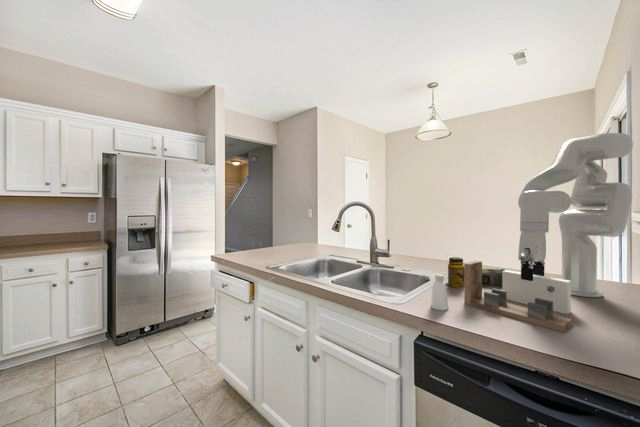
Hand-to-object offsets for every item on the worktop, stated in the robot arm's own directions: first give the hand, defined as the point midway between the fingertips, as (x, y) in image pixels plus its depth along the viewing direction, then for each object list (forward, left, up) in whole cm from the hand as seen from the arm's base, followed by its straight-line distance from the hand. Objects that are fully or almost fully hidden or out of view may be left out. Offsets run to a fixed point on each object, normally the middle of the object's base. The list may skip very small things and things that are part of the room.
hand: (532, 278), depth 91 cm
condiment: (+1, -27, -9) cm, 28 cm away
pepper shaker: (+27, -17, -9) cm, 33 cm away
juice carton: (-14, -22, -10) cm, 28 cm away
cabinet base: (+13, 0, -9) cm, 16 cm away
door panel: (-1, 0, -9) cm, 9 cm away
